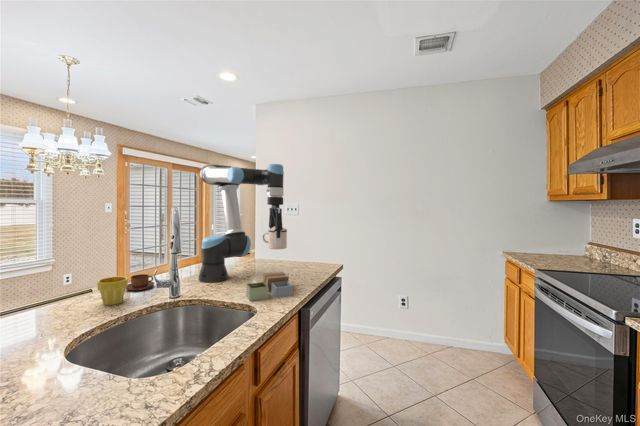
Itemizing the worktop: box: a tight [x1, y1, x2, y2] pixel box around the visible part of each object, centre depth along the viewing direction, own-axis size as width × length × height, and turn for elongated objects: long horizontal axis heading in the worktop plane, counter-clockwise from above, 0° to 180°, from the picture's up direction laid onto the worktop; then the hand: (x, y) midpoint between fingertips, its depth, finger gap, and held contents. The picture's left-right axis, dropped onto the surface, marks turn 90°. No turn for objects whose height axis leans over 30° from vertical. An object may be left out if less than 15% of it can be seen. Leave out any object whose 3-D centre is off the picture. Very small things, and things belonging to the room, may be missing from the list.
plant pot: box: [96, 275, 129, 306], centre depth 124 cm, size 10×10×10 cm
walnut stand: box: [262, 271, 290, 293], centre depth 145 cm, size 10×10×7 cm
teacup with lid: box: [262, 226, 288, 250], centre depth 144 cm, size 12×9×12 cm
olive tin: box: [246, 281, 269, 303], centre depth 131 cm, size 8×8×6 cm
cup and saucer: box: [125, 273, 155, 292], centre depth 144 cm, size 12×12×6 cm
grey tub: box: [270, 281, 294, 298], centre depth 136 cm, size 8×8×5 cm
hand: (275, 243), depth 144 cm, fingers closed on teacup with lid, 9 cm apart
